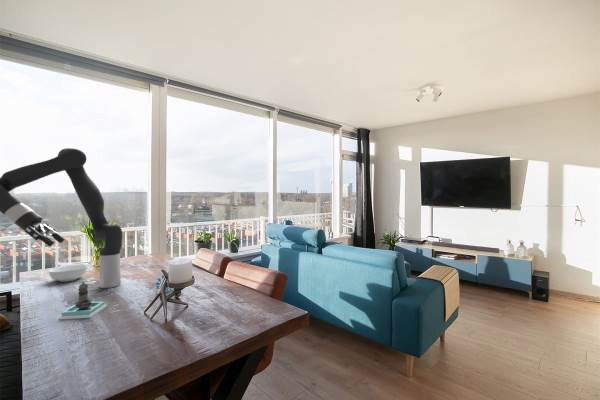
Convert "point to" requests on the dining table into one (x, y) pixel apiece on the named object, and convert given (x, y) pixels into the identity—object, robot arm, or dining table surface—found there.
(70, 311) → the socket board
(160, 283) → the gear
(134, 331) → the dining table surface
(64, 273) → the cereal bowl
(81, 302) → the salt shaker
